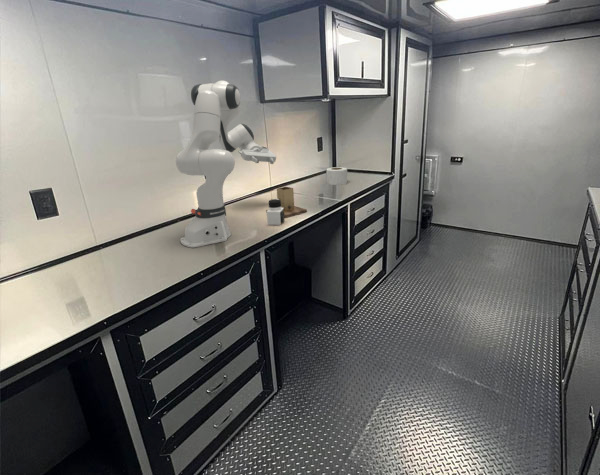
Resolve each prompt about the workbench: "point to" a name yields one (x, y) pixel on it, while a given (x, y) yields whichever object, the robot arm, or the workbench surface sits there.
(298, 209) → the post board
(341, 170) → the white paper roll
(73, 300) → the workbench surface
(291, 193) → the sleeve
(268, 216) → the medicine bottle
